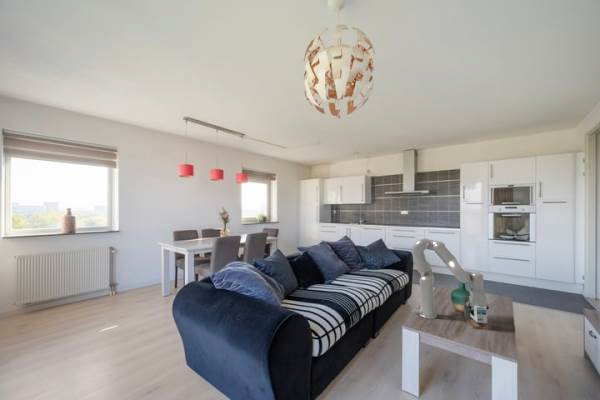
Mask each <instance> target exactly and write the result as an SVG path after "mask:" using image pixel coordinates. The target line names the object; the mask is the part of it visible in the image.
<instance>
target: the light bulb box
mask: <svg viewBox="0 0 600 400" xmlns="http://www.w3.org/2000/svg"><path fill="white" fill-rule="evenodd" d="M470 306H471V305H470ZM473 310H474V316H473V315H471V313H470V316H471V317H472V318H473V319H474V320H475V321H476V322H478V323H488V312H487V311H488V310H487V308H486V307H483V306H475V307H474V309H473Z"/></svg>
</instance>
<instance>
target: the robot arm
mask: <svg viewBox="0 0 600 400" xmlns="http://www.w3.org/2000/svg"><path fill="white" fill-rule="evenodd" d="M425 250H429V251H433V252H434V253H435V254H436V255H437V256H438V257H439V258H440V259H441V261H442V262H443V264H445V266H446V267H447V268H448V269H449V271H450V272H451V273H452V274H453V276H454V277H455V278H456V280H457V281H458V282H460V283H462V284H464V285H465V284H466V285H467V284H469V283H470V287H469V288H468V291H469V296H468V297H469V301H468V302H466V303H465V304H466V305H467V306H468V307H469V308H470V313H471V315H473V316H474V310H473V309H474V307H475V306H483V307H486V308H487V311H488V310H489V309H490V308H491V307H492V305H491V304H489V302H488V299H487V295H486V293H485V292H484V290H485V289H484V287H485V286H484V275H483V274H482V273H480V272H470V271H466V270H464V269H463V267H462V266H461V265H460V264H459V262H458V259H457V258H456V257H455V256H454V254H452V253H451V251H450V250H449V249H448V248H447V247H446V244H445V243H444V242H442V241H438V240H435V239H429V238H422V239H418V241H416V242H414V244H413V246H412V249H411V251H412V256H413V260H414V263H415V267H416V268H415V269H416V271H417V272H418V273H419V274H420V279H419V292H420V293H419V294H420V295H419V298H420V299H419V301H420V308H419V309H417V308H415V309H414V310H413V311H414V312H415V313H418V316H420V317H421V318H425V319H429V320H430V319H433V320H434V319H436V318H437V314H436V313H435V301H434V300H435V299H434V298H435V296H434V294H435V293H434V283H435V276H434V273H433V270H432V265H431V264H430V263H429V261H427V259H426V256H425ZM469 304H470V305H471V306H469Z"/></svg>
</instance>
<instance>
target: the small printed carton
mask: <svg viewBox="0 0 600 400" xmlns="http://www.w3.org/2000/svg"><path fill="white" fill-rule="evenodd" d="M468 301H469V296H466V295H464V296H463V313H464V314H463V315H464V318H463V319H464V322H466V324H468V326H470V328H471V329H472V330H473V329H474V330H484V331H493V327H492V326H491V325H490V324H489V323H488V322H487V323H478V322H476V321H475V320H474V319H473V318H472V317H471V316H470V308H469V307H468V306H467V305H466V304H465V303H466V302H468ZM469 306H470V304H469Z"/></svg>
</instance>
